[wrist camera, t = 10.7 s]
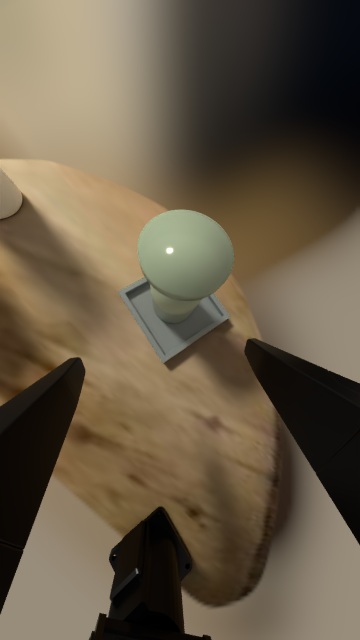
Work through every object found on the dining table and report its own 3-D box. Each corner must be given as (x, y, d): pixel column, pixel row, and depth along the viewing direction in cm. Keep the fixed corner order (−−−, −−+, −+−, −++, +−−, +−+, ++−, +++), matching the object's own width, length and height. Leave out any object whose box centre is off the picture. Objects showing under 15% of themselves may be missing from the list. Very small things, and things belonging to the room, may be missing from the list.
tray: (226, 319, 23) (230, 316, 22) (162, 362, 21) (162, 363, 20) (184, 260, 25) (186, 254, 23) (120, 295, 22) (117, 291, 21)
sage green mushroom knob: (204, 311, 23) (252, 267, 11) (165, 336, 21) (173, 315, 10) (179, 274, 24) (199, 197, 12) (140, 296, 22) (118, 231, 10)
